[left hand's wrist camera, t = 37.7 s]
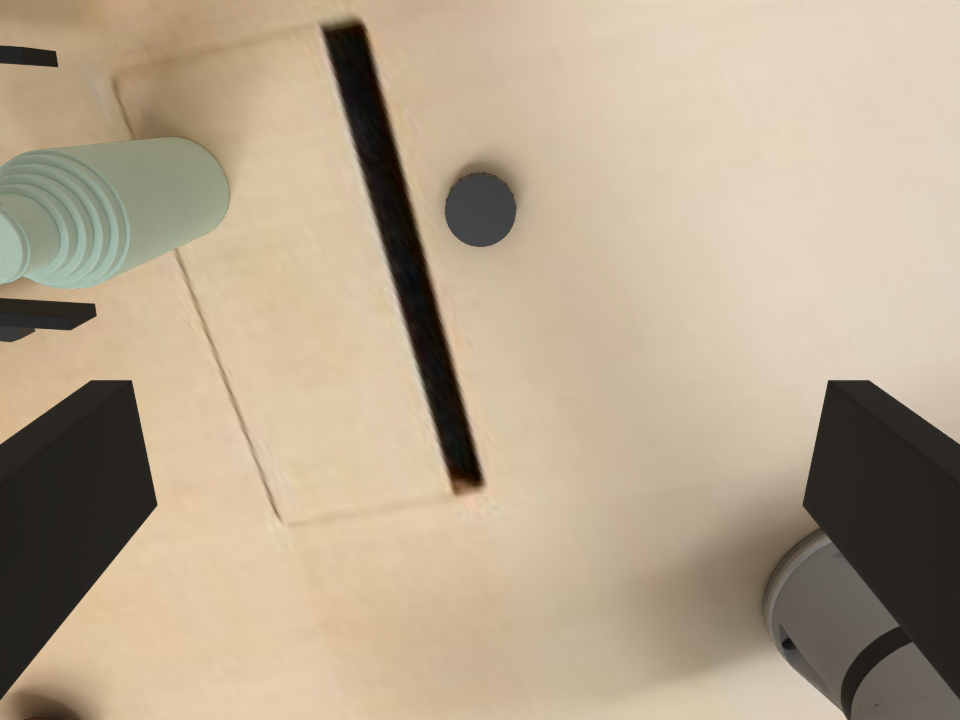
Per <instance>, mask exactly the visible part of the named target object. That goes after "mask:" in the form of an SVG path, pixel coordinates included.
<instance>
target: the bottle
mask: <svg viewBox="0 0 960 720" xmlns="http://www.w3.org/2000/svg"><path fill="white" fill-rule="evenodd" d="M228 204H229V187H228V183H227V179H226V176H225V174H224V172H223V170H222V168H221V166H220V165H219V163H218V162H217V160H216V159H215V158H214V157H213V156H212V155H211V154H210V153H209V152H208V151H207V150H206V149H204V148H203V147H202V146H200V145H198V144H197V143H195V142H192V141H190V140H187V139H184V138H179V137H162V138H152V139H142V140H132V141H122V142H112V143H102V144H92V145H82V146H72V147H62V148H52V149H42V150H34V151H29V152H25V153H22V154H20V155H18V156H16V157H14V158H13V159H11V160H10V161H8V162H7V163H5V164H4V165H2V166H1V167H0V284H5V283H10V282H13V281H15V280H17V279H18V278H20V277H21V276H23V277H26V278H28V279H30V280H33V281H35V282H37V283H40V284H42V285H45V286H49V287H54V288H61V289H80V288H88V287H92V286H96V285H98V284H100V283H103V282H105V281H107V280H109V279H111V278H113V277H116V276H118V275H120V274H122V273H124V272H126V271H128V270H130V269H133V268H135V267H137V266H139V265H141V264H143V263H145V262H148V261H150V260H152V259H154V258H156V257H158V256H160V255H162V254H165V253H167V252H169V251H171V250H173V249H175V248H177V247H180V246H182V245H184V244H186V243H188V242H190V241H192V240H194V239H197V238H199V237H201V236H203V235H205V234H207V233H209V232H211V231H212V230H213V229H215V228H216V227H217V226H218V225H219V224H220V223H221V221H222V220H223V218H224V216H225V214H226V212H227V208H228Z"/></svg>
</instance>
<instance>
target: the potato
mask: <svg viewBox="0 0 960 720" xmlns="http://www.w3.org/2000/svg"><path fill="white" fill-rule="evenodd" d="M25 720H57V719H45V718H38V717H34V718H29V719H25Z"/></svg>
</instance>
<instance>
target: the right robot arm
mask: <svg viewBox="0 0 960 720" xmlns="http://www.w3.org/2000/svg"><path fill="white" fill-rule="evenodd" d="M0 63H4V64H19V65H35V66H50V67H58V63H57V56H56V51H50V50H42V49H34V48H26V47H14V46H0ZM96 316H97V315H96V308H95V304H90V303H73V302H56V301H39V300H22V299H5V298H0V341H4V342H13V341H16V340H19V339H21V338H23V337H25V336H27V335H29V334H31V333H33V332H35V328H39V329H56V330H72V329H74V328H76V327H77V326H79V325H81V324H83V323H85V322H86V321H88V320H90V319H92V318H94V317H96Z"/></svg>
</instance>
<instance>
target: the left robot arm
mask: <svg viewBox="0 0 960 720" xmlns="http://www.w3.org/2000/svg"><path fill="white" fill-rule="evenodd" d="M156 507H157V500H156V496H155V491H154V486H153V481H152V476H151V471H150V467H149V462H148V457H147V452H146V447H145V442H144V437H143V433H142V428H141V423H140V418H139V413H138V408H137V403H136V399H135V394H134V389H133V384H132V380H91V381H89V382H88V383H87V384H85V385H84V386H82V387H81V388H80V389H78V390H77V391H75V392H74V393H73V394H71V395H70V396H68V397H67V398H65V399H64V400H63V401H61V402H60V403H58V404H57V405H56V406H54V407H53V408H51V409H50V410H48V411H47V412H46V413H44V414H43V415H41V416H40V417H39V418H37V419H36V420H34V421H33V422H31V423H30V424H29V425H27V426H26V427H24V428H23V429H22V430H20V431H19V432H17V433H16V434H14V435H13V436H12V437H10V438H9V439H7V440H6V441H5V442H3V443H2V444H0V700H1V699H2V697H3V696H4V695H5V694H6V692H7V691H8V690H9V689H10V687H11V686H12V685H13V684H14V682H15V681H16V680H17V679H18V678H19V676H20V675H21V674H22V673H23V671H24V670H25V669H26V668H27V666H28V665H29V664H30V663H31V661H32V660H33V659H34V658H35V656H36V655H37V654H38V653H39V651H40V650H41V649H42V648H43V647H44V645H45V644H46V643H47V642H48V640H49V639H50V638H51V637H52V635H53V634H54V633H55V632H56V630H57V629H58V628H59V627H60V625H61V624H62V623H63V622H64V621H65V619H66V618H67V617H68V616H69V614H70V613H71V612H72V611H73V609H74V608H75V607H76V606H77V604H78V603H79V602H80V601H81V599H82V598H83V597H84V596H85V594H86V593H87V592H88V591H89V590H90V588H91V587H92V586H93V585H94V583H95V582H96V581H97V580H98V578H99V577H100V576H101V575H102V573H103V572H104V571H105V570H106V568H107V567H108V566H109V565H110V564H111V562H112V561H113V560H114V559H115V557H116V556H117V555H118V554H119V552H120V551H121V550H122V549H123V547H124V546H125V545H126V544H127V542H128V541H129V540H130V539H131V537H132V536H133V535H134V534H135V533H136V531H137V530H138V529H139V528H140V526H141V525H142V524H143V523H144V521H145V520H146V519H147V518H148V516H149V515H150V514H151V513H152V511H153V510H154V509H155V508H156ZM803 507H804V508H805V509H806V510H807V511H808V513H809V514H810V515H811V516H812V518H813V519H814V520H815V521H816V523H817V524H818V525H819V526H820V528H821V530H819V531H817V532H815V533H814V534H812V535H811V536H809V537H807V538H806V539H805V540H803V541H802V542H800V543H799V544H798V545H797V546H796V547H794V548H793V549H792V550H791V551H790V552H789V553H788V554H787V555H786V556H785V557H784V559H783V560H782V561H781V562H780V564H779V565H778V566H777V568H776V569H775V571H774V573H773V574H772V576H771V578H770V580H769V583H768V585H767V588H766V592H765V596H764V602H763V613H764V620H765V624H766V627H767V630H768V632H769V634H770V636H771V637H772V639H773V641H774V643H775V645H776V647H777V648H778V650H779V652H780V653H781V655H782V656H783V657H784V658H785V660H786V661H787V662H788V663H789V664H790V665H791V666H792V667H793V668H794V669H795V670H796V671H797V672H798V673H799V674H801V675H802V676H803V677H804V678H805V679H806V680H807V681H808V682H810V683H811V684H812V685H813V686H814V687H815V688H816V689H817V690H819V691H820V692H821V693H822V694H823V695H824V696H825V697H826V698H828V699H829V700H830V701H831V702H832V703H833V704H834V705H835V706H837V707H838V708H839V709H840V710H841V711H842V712H843V713H844V715H845V716H846V718H847V720H960V444H958V443H957V442H955V441H954V440H953V439H951V438H950V437H948V436H947V435H946V434H944V433H943V432H941V431H940V430H938V429H937V428H936V427H934V426H933V425H931V424H930V423H929V422H927V421H926V420H924V419H923V418H921V417H920V416H919V415H917V414H916V413H914V412H913V411H912V410H910V409H909V408H907V407H906V406H904V405H903V404H902V403H900V402H899V401H897V400H896V399H895V398H893V397H892V396H890V395H889V394H887V393H886V392H885V391H883V390H882V389H880V388H879V387H878V386H876V385H875V384H873V383H872V382H871V381H869V380H828V384H827V389H826V394H825V399H824V403H823V408H822V413H821V418H820V423H819V428H818V433H817V437H816V442H815V447H814V452H813V457H812V462H811V467H810V471H809V476H808V481H807V486H806V491H805V496H804V500H803Z"/></svg>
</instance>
